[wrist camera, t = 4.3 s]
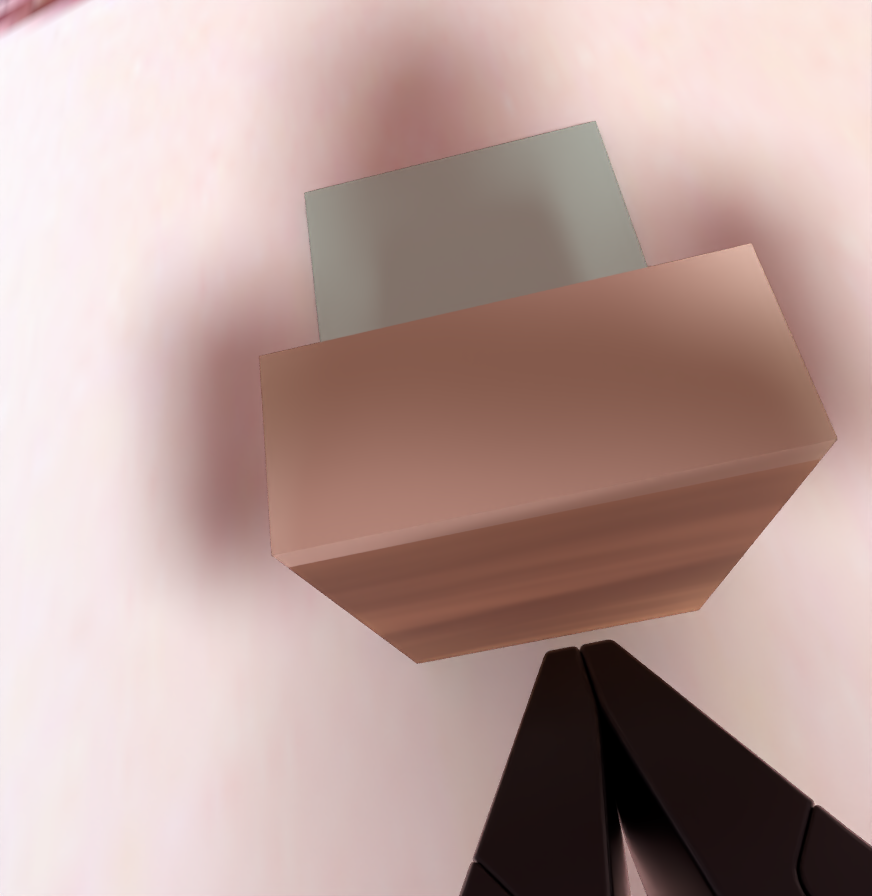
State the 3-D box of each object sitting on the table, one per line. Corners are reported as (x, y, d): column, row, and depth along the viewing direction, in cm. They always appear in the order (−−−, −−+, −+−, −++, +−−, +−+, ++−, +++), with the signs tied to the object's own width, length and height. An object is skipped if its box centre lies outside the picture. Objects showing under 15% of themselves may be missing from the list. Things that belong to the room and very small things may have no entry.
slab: (698, 610, 18) (837, 438, 9) (417, 663, 18) (271, 555, 9) (662, 496, 19) (752, 243, 10) (401, 549, 19) (259, 356, 10)
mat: (708, 449, 19) (710, 444, 19) (342, 525, 20) (339, 521, 20) (595, 128, 24) (595, 120, 24) (307, 199, 25) (304, 192, 25)
